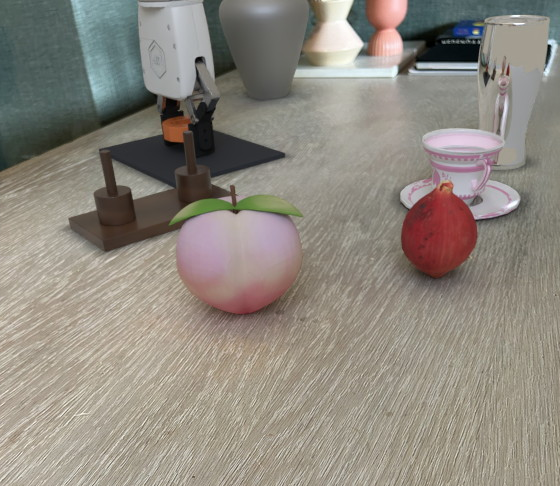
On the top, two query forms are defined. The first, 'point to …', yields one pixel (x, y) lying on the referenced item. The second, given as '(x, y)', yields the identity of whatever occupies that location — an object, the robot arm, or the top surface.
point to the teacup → (464, 171)
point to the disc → (175, 128)
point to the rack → (143, 204)
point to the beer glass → (510, 80)
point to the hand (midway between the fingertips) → (189, 147)
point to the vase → (265, 42)
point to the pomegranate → (439, 231)
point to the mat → (165, 160)
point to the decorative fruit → (238, 250)
